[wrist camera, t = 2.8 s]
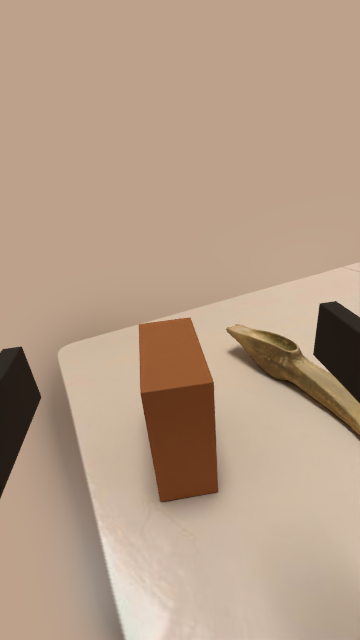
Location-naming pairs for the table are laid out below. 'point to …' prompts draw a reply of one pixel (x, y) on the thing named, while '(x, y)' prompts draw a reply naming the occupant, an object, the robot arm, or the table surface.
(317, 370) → the tool
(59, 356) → the table surface
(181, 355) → the brown rectangular block
